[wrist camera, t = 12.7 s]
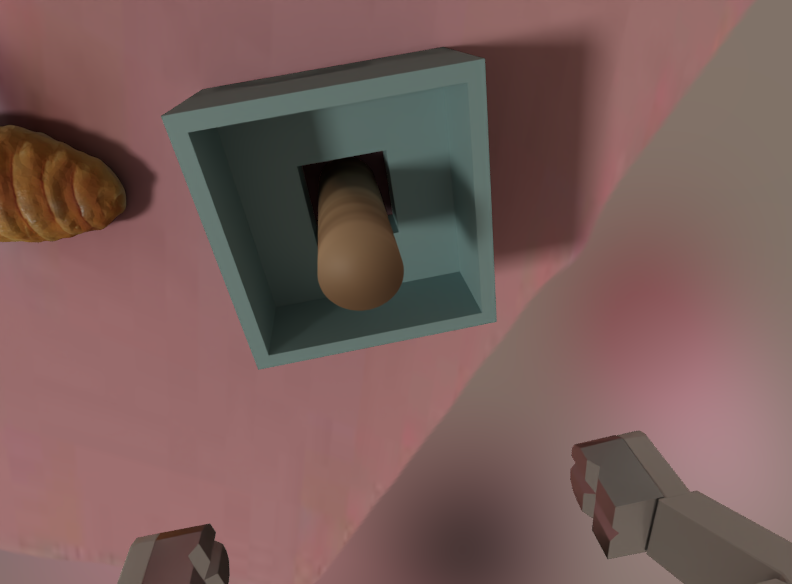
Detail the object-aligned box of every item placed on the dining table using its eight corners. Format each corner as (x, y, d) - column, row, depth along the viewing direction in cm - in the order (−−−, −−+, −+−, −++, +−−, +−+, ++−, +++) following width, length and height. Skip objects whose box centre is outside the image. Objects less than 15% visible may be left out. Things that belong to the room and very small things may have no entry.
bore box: (202, 89, 26) (161, 116, 20) (443, 46, 27) (485, 58, 20) (271, 296, 33) (258, 369, 27) (461, 259, 34) (496, 321, 27)
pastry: (123, 132, 27) (97, 149, 24) (136, 240, 30) (114, 268, 27) (-70, 107, 25) (-127, 123, 22) (-34, 225, 29) (-79, 254, 25)
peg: (312, 162, 29) (308, 243, 19) (370, 151, 29) (397, 226, 19) (325, 216, 31) (328, 317, 21) (380, 206, 31) (409, 301, 21)
